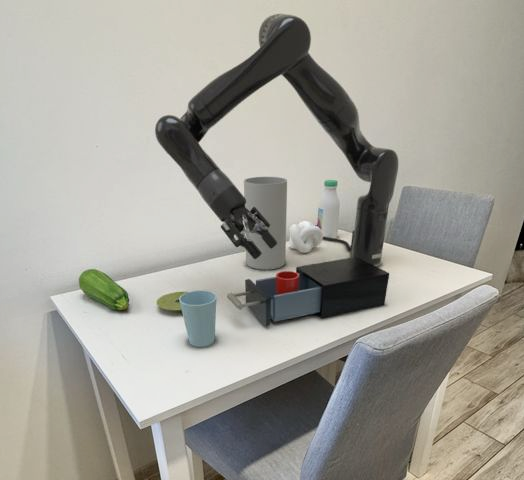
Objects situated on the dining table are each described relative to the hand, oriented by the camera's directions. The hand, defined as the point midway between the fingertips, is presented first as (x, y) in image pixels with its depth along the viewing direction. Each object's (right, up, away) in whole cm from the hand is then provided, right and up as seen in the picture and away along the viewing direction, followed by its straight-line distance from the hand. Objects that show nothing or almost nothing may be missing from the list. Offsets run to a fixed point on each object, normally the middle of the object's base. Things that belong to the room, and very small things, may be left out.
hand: (266, 251), depth 98 cm
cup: (-14, -21, -5) cm, 26 cm away
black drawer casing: (+19, -10, +12) cm, 24 cm away
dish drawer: (+3, -13, +5) cm, 14 cm away
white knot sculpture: (+13, +11, +48) cm, 51 cm away
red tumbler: (+5, -12, +5) cm, 14 cm away
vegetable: (-41, -11, +12) cm, 44 cm away
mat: (-22, -12, +10) cm, 27 cm away
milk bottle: (+23, +20, +61) cm, 68 cm away
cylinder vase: (0, +4, +37) cm, 37 cm away
